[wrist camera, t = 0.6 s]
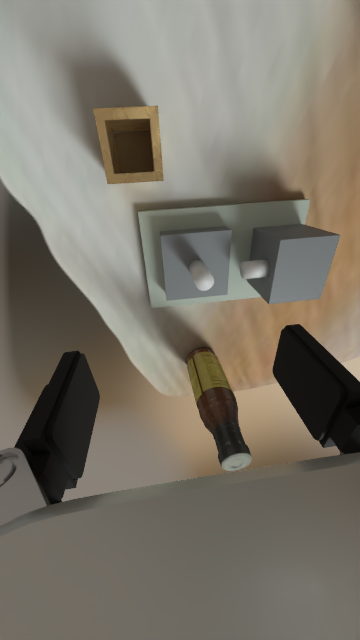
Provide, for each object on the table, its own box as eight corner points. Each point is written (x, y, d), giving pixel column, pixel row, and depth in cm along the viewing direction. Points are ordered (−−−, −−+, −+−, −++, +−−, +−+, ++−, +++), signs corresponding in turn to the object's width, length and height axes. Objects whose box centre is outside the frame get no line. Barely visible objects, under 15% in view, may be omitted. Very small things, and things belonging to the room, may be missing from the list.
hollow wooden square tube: (104, 123, 24) (92, 108, 19) (155, 121, 25) (157, 105, 20) (115, 183, 27) (107, 184, 22) (160, 180, 28) (163, 180, 23)
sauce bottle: (199, 374, 47) (227, 482, 30) (179, 359, 44) (198, 469, 27) (223, 356, 45) (268, 461, 28) (204, 339, 42) (241, 445, 25)
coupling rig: (138, 210, 29) (134, 221, 22) (305, 198, 31) (355, 204, 23) (151, 304, 37) (151, 337, 29) (284, 291, 38) (318, 318, 31)
